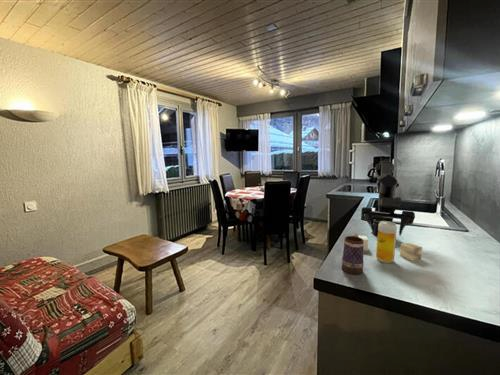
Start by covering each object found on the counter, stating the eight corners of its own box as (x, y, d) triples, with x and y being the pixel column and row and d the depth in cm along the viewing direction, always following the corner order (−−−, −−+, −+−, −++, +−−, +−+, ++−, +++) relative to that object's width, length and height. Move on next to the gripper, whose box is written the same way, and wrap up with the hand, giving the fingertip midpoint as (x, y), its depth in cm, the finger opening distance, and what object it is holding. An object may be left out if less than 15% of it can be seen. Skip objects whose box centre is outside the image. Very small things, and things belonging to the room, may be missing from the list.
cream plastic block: (365, 246, 104) (366, 236, 104) (367, 250, 99) (368, 239, 99) (353, 245, 106) (354, 234, 105) (354, 249, 101) (355, 238, 100)
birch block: (408, 254, 96) (409, 242, 96) (420, 259, 91) (422, 247, 91) (399, 255, 95) (400, 244, 94) (411, 260, 90) (412, 248, 89)
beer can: (376, 255, 94) (378, 219, 92) (393, 258, 91) (396, 222, 89) (375, 261, 89) (378, 223, 87) (393, 264, 86) (397, 226, 84)
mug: (361, 277, 77) (363, 242, 76) (339, 271, 81) (341, 238, 80) (365, 265, 86) (367, 234, 84) (345, 260, 90) (347, 230, 88)
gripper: (362, 188, 98) (360, 219, 89) (416, 191, 89) (419, 226, 81) (362, 203, 106) (359, 233, 97) (411, 207, 97) (413, 240, 89)
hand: (386, 233), depth 91 cm, fingers open, 9 cm apart
